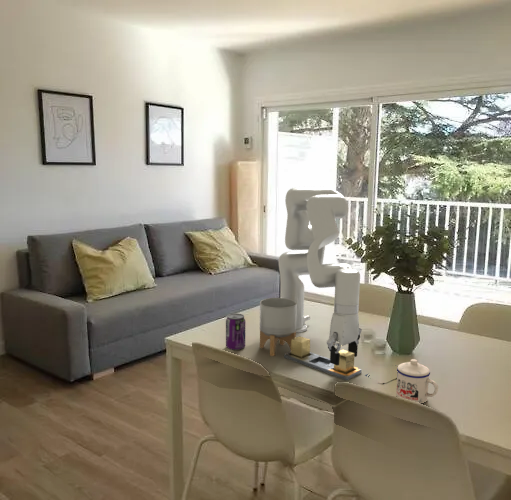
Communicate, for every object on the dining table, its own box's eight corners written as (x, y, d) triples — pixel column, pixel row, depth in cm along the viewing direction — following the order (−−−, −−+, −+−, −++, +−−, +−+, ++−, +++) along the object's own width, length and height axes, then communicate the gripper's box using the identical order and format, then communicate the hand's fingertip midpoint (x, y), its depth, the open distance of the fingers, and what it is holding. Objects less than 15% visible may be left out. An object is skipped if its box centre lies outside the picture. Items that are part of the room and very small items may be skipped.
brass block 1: (299, 353, 179) (299, 336, 178) (309, 357, 176) (310, 339, 175) (291, 357, 176) (291, 339, 175) (301, 360, 173) (301, 342, 171)
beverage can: (242, 352, 181) (243, 319, 179) (223, 350, 183) (223, 318, 181) (247, 345, 188) (247, 313, 186) (228, 343, 189) (228, 312, 187)
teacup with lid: (389, 398, 147) (391, 360, 145) (404, 388, 153) (406, 351, 151) (429, 412, 139) (432, 372, 137) (443, 401, 145) (446, 362, 143)
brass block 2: (342, 368, 166) (342, 349, 165) (353, 372, 163) (354, 353, 162) (333, 372, 163) (334, 353, 162) (345, 376, 160) (346, 356, 159)
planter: (289, 359, 175) (291, 309, 172) (254, 354, 179) (254, 305, 176) (299, 346, 187) (300, 299, 184) (266, 342, 191) (266, 296, 188)
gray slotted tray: (298, 352, 181) (298, 347, 181) (361, 374, 163) (361, 369, 163) (283, 358, 176) (283, 353, 175) (346, 381, 158) (347, 376, 157)
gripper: (351, 300, 168) (349, 349, 171) (319, 311, 156) (317, 363, 159) (371, 305, 163) (368, 355, 166) (339, 316, 151) (337, 371, 154)
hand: (343, 359), depth 163 cm, fingers open, 9 cm apart
